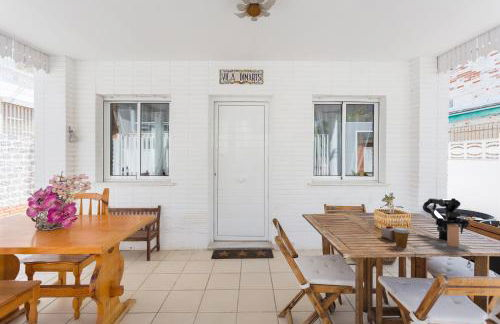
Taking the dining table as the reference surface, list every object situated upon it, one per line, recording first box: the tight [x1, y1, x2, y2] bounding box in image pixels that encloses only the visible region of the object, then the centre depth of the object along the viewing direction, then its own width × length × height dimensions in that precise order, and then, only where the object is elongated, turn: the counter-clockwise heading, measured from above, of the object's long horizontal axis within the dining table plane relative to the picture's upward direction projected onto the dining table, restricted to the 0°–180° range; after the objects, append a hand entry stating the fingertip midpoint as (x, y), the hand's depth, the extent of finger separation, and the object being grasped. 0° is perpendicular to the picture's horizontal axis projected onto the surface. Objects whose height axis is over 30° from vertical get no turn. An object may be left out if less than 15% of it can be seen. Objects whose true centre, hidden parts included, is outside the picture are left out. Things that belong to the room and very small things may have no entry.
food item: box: [380, 225, 396, 242], centre depth 219 cm, size 14×8×10 cm, turn 12°
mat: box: [424, 240, 472, 250], centre depth 202 cm, size 22×17×1 cm
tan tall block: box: [446, 224, 460, 247], centre depth 200 cm, size 6×6×14 cm
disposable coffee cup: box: [393, 226, 410, 248], centre depth 201 cm, size 10×10×12 cm
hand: (453, 232), depth 199 cm, fingers open, 9 cm apart
